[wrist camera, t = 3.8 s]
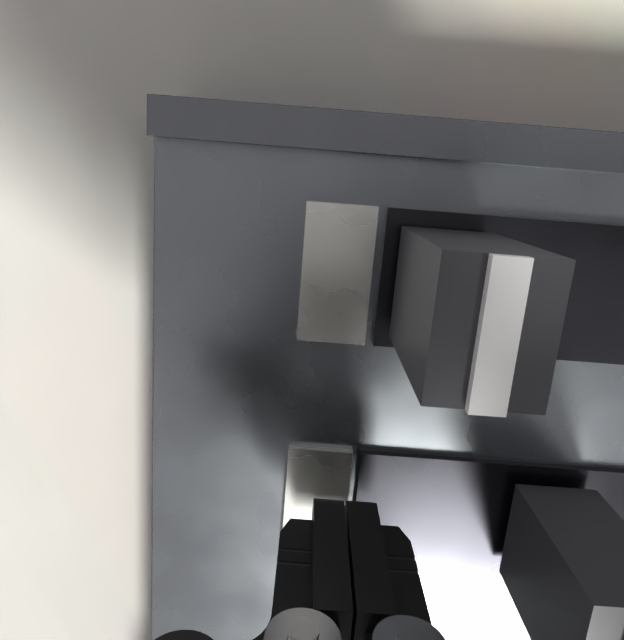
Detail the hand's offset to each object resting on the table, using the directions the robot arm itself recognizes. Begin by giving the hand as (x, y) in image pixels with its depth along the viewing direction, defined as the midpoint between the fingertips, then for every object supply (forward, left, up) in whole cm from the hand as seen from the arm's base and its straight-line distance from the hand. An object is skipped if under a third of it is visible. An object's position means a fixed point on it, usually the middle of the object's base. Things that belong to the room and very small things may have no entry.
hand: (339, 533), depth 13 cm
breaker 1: (-2, -6, -1) cm, 6 cm away
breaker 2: (-5, 0, -1) cm, 5 cm away
